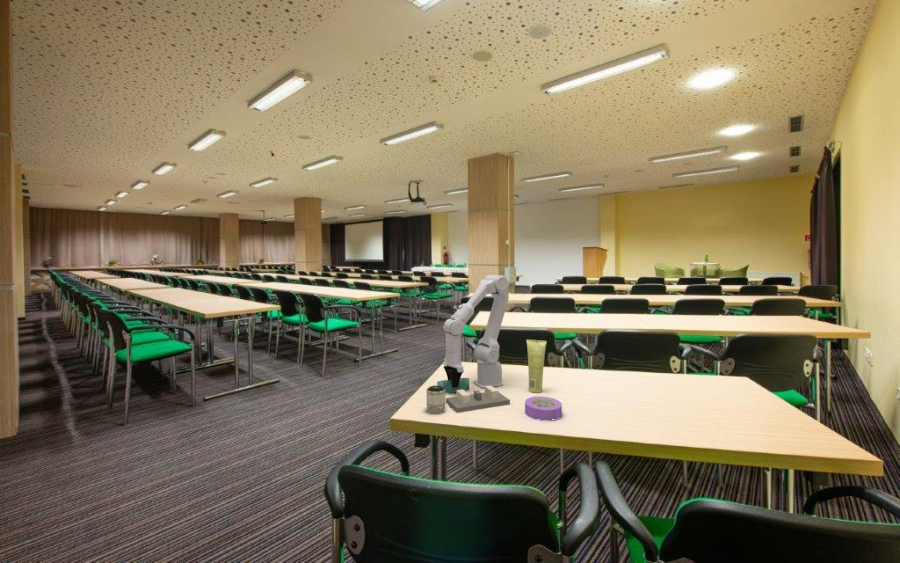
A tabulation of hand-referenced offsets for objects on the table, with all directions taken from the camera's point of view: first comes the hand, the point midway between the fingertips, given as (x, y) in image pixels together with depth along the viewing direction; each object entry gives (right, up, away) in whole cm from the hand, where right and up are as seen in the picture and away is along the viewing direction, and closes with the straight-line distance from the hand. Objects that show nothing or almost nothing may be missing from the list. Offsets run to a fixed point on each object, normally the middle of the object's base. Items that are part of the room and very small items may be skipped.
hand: (453, 385), depth 149 cm
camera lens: (-6, -3, -19) cm, 20 cm away
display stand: (+8, -3, -13) cm, 15 cm away
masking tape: (+29, -4, -22) cm, 36 cm away
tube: (+31, -2, 0) cm, 31 cm away
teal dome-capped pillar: (0, -2, 0) cm, 2 cm away
